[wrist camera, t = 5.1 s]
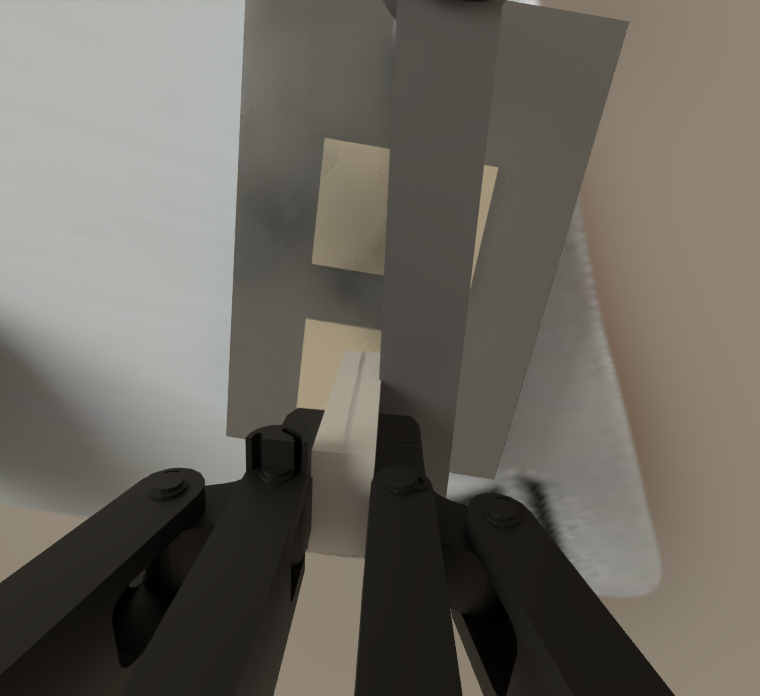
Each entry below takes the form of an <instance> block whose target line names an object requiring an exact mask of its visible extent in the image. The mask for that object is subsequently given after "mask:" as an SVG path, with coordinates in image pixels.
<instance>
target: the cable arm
mask: <svg viewBox="0 0 760 696" xmlns="http://www.w3.org/2000/svg"><path fill="white" fill-rule="evenodd" d="M505 1H506V0H383V2H384V4H385V6H386V8H387V9H388V11H389V12H390V14H391V15H392V16H393V17H394V18H395V20H396V30H395V51H394V73H393V94H392V115H391V136H390V158H389V179H388V200H387V222H386V243H385V264H384V285H383V307H382V328H381V349H380V371H379V380H381V386H380V399H379V414H391V415H403V416H412V417H413V418H414V419H415V421H416V422H417V423H418V424H419V425H420V432H421V441H422V449H423V458H424V466H425V474H426V477H428V478H429V479H430V481H431V484H432V486H433V490H434V491H435V492H436V493H437V494H439V495H441V496H442V497H444V498H446V494H447V485H448V476H449V468H450V459H451V450H452V442H453V433H454V424H455V415H456V407H457V398H458V389H459V380H460V372H461V363H462V354H463V345H464V337H465V328H466V319H467V310H468V302H469V293H470V284H471V275H472V267H473V258H474V249H475V240H476V232H477V223H478V214H479V205H480V197H481V188H482V179H483V171H484V162H485V153H486V144H487V136H488V127H489V118H490V109H491V101H492V92H493V83H494V74H495V66H496V57H497V48H498V39H499V31H500V22H501V13H502V6H503V4H504V3H505Z"/></svg>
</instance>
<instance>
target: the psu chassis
mask: <svg viewBox="0 0 760 696" xmlns="http://www.w3.org/2000/svg"><path fill="white" fill-rule="evenodd" d="M628 24H629V22H628V21H622V20H617V19H611V18H605V17H599V16H593V15H588V14H582V13H576V12H570V11H565V10H559V9H553V8H547V7H542V6H536V5H530V4H524V3H518V2H513V1H507V0H506V1H505V3H504V4H503V6H502V13H501V22H500V31H499V39H498V48H497V57H496V66H495V74H494V83H493V92H492V101H491V109H490V118H489V127H488V136H487V144H486V153H485V162H484V171H483V179H482V188H481V197H480V205H479V214H478V223H477V232H476V240H475V249H474V258H473V267H472V275H471V284H470V293H469V302H468V310H467V319H466V328H465V337H464V345H463V354H462V363H461V372H460V380H459V389H458V398H457V407H456V415H455V424H454V433H453V442H452V450H451V459H450V468H449V472H451V473H457V474H464V475H470V476H476V477H482V478H488V479H494V478H495V475H496V471H497V468H498V465H499V461H500V458H501V454H502V451H503V448H504V444H505V441H506V438H507V434H508V431H509V427H510V424H511V421H512V417H513V414H514V410H515V407H516V404H517V400H518V397H519V393H520V390H521V387H522V383H523V380H524V377H525V373H526V370H527V366H528V363H529V360H530V356H531V353H532V349H533V346H534V343H535V339H536V336H537V332H538V329H539V326H540V322H541V319H542V316H543V312H544V309H545V305H546V302H547V299H548V295H549V292H550V288H551V285H552V282H553V278H554V275H555V271H556V268H557V265H558V261H559V258H560V255H561V251H562V248H563V244H564V241H565V238H566V234H567V231H568V227H569V224H570V221H571V217H572V214H573V210H574V207H575V204H576V200H577V197H578V194H579V190H580V187H581V183H582V180H583V177H584V173H585V170H586V166H587V163H588V159H589V156H590V153H591V149H592V146H593V143H594V139H595V136H596V132H597V129H598V126H599V122H600V119H601V116H602V112H603V109H604V105H605V102H606V98H607V95H608V92H609V88H610V85H611V81H612V78H613V75H614V71H615V68H616V64H617V61H618V58H619V54H620V51H621V48H622V44H623V41H624V38H625V34H626V31H627V27H628ZM395 30H396V20H395V18H394V17H393V16H392V15H391V14H390V12H389V11H388V9H387V8H386V6H385V4H384V2H383V0H245V23H244V45H243V68H242V91H241V114H240V136H239V159H238V182H237V204H236V227H235V250H234V272H233V295H232V318H231V340H230V363H229V386H228V408H227V431H226V436H229V437H236V438H242V439H245V437H246V436H247V435H249V434H250V433H251V432H252V431H254V430H256V429H258V428H261V427H265V426H269V425H282V424H283V422H284V420H285V418H286V416H287V415H288V414H289V413H291V412H292V411H294V410H295V409H297V408H308V409H319V410H325V409H326V406H327V403H328V401H329V398H330V395H331V392H332V389H333V386H334V383H335V380H336V377H337V374H338V371H339V368H340V365H341V362H342V359H343V356H344V353H345V350H350V351H361V352H373V353H380V349H381V328H382V307H383V285H384V264H385V243H386V222H387V200H388V179H389V158H390V136H391V115H392V94H393V73H394V51H395Z"/></svg>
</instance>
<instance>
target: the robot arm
mask: <svg viewBox="0 0 760 696" xmlns="http://www.w3.org/2000/svg"><path fill="white" fill-rule="evenodd" d="M379 371H380V353H373V352H361V351H350V350H345V353H344V356H343V359H342V362H341V365H340V368H339V371H338V374H337V377H336V380H335V383H334V386H333V389H332V392H331V395H330V398H329V401H328V403H327V406H326V409H325V410H319V409H308V408H297V409H295V410H294V411H292V412H291V413H289V414H288V415H287V416H286V418H285V420H284V422H283V424H282V425H269V426H265V427H261V428H258V429H256V430H254V431H252V432H251V433H250V434H249V435H247V436H246V437H245V439H246V472H245V474H244V476H243V478H242V479H241V480H238V481H235V482H230V483H224V484H216V485H208V486H205V479H204V478H203V476H202V475H201V473H199V472H197V471H195V470H193V469H187V468H171V469H166V470H162V471H159V472H156V473H153V474H151V475H149V476H148V477H146V478H144V479H142V480H141V481H139V482H138V483H137V484H135V485H134V486H133V487H131V488H130V489H128V490H127V491H126V492H124V493H123V494H122V495H120V496H119V497H117V498H116V499H115V500H113V501H112V502H111V503H109V504H108V505H107V506H105V507H104V508H102V509H101V510H100V511H98V512H97V513H96V514H94V515H93V516H91V517H90V518H89V519H87V520H86V521H85V522H83V523H82V524H80V525H79V526H78V527H76V528H75V529H74V530H72V531H71V532H69V533H68V534H67V535H65V536H64V537H63V538H61V539H60V540H58V541H57V542H56V543H54V544H53V545H52V546H50V547H49V548H48V549H46V550H45V551H44V552H42V553H41V554H39V555H38V556H37V557H35V558H34V559H32V560H31V561H30V562H28V563H27V564H26V565H24V566H23V567H21V568H20V569H19V570H17V571H16V572H15V573H13V574H12V575H10V576H9V577H8V578H6V579H5V580H4V581H2V582H1V583H0V696H273V695H274V691H275V687H276V683H277V679H278V675H279V671H280V667H281V663H282V659H283V655H284V651H285V647H286V643H287V639H288V635H289V631H290V627H291V623H292V619H293V615H294V611H295V607H296V603H297V599H298V595H299V591H300V587H301V583H302V579H303V575H304V571H305V551H306V548H307V544H308V540H309V551H308V552H317V553H328V554H338V555H349V556H361V557H365V566H364V577H363V589H362V600H361V615H360V629H359V641H358V654H357V666H356V678H355V679H356V680H355V691H354V696H462V689H461V681H460V674H459V667H458V661H457V653H456V647H455V640H454V633H453V625H452V618H453V620H454V623H455V625H456V628H457V630H458V633H459V635H460V638H461V640H462V643H463V645H464V648H465V650H466V653H467V655H468V658H469V660H470V662H471V665H472V668H473V670H474V673H475V675H476V678H477V680H478V683H479V685H480V688H481V690H482V693H483V695H484V696H675V695H674V694H673V693H672V691H671V690H670V689H669V687H667V685H666V684H665V682H664V681H663V680H662V679H661V677H660V676H659V675H658V673H657V672H656V671H655V670H654V668H653V667H652V666H651V665H650V663H649V662H648V661H647V659H646V658H645V657H644V656H643V654H642V653H641V652H640V650H639V649H638V648H637V647H636V645H635V644H634V643H633V642H632V640H631V639H630V638H629V636H628V635H627V634H626V633H625V631H624V630H623V629H622V627H621V626H620V625H619V624H618V622H617V621H616V620H615V619H614V617H613V616H612V615H611V614H610V612H609V611H608V610H607V608H606V607H605V606H604V604H603V603H602V602H601V601H600V599H599V598H598V597H597V596H596V594H595V593H594V592H593V590H592V589H591V588H590V587H589V585H588V584H587V583H586V582H585V580H584V579H583V578H582V576H581V575H580V574H579V573H578V571H577V570H576V569H575V567H574V566H573V565H572V564H571V562H570V561H569V560H568V559H567V557H566V556H565V555H564V553H563V552H562V551H561V550H560V548H559V547H558V546H557V545H556V543H555V542H554V541H553V539H552V538H551V537H550V536H549V534H548V533H547V532H546V530H545V529H544V528H543V527H542V525H541V524H540V523H539V522H538V520H537V519H536V518H535V516H534V515H533V514H532V513H531V511H529V510H528V509H527V508H526V507H525V506H524V505H523V504H522V503H520V502H518V501H517V500H515V499H513V498H511V497H508V496H505V495H501V494H495V493H484V494H480V495H476V496H475V497H474V498H473V499H471V500H470V502H469V505H468V506H466V505H463V504H460V503H456V502H453V501H451V500H448V499H446V498H444V497H442V496H441V495H439V494H437V493H436V492H435V491H434V490H433V486H432V484H431V481H430V479H429V478H428V477H426V474H425V466H424V458H423V449H422V441H421V432H420V425H419V424H418V423H417V422H416V421H415V419H414V418H413V417H412V416H403V415H391V414H379V399H380V386H381V380H379ZM450 608H451V611H450ZM451 613H452V618H451Z"/></svg>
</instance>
